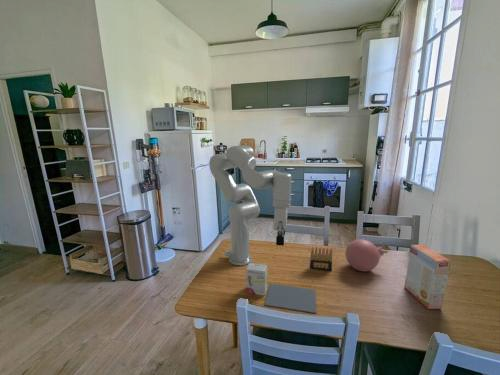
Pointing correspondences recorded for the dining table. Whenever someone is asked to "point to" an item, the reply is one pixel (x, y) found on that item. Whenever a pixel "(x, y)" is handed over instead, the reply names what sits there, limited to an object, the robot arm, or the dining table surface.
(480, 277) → the dining table surface
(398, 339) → the dining table surface
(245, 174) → the robot arm
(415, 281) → the cracker box
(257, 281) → the ink box
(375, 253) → the pink balloon
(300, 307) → the mat
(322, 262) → the ammunition clip
